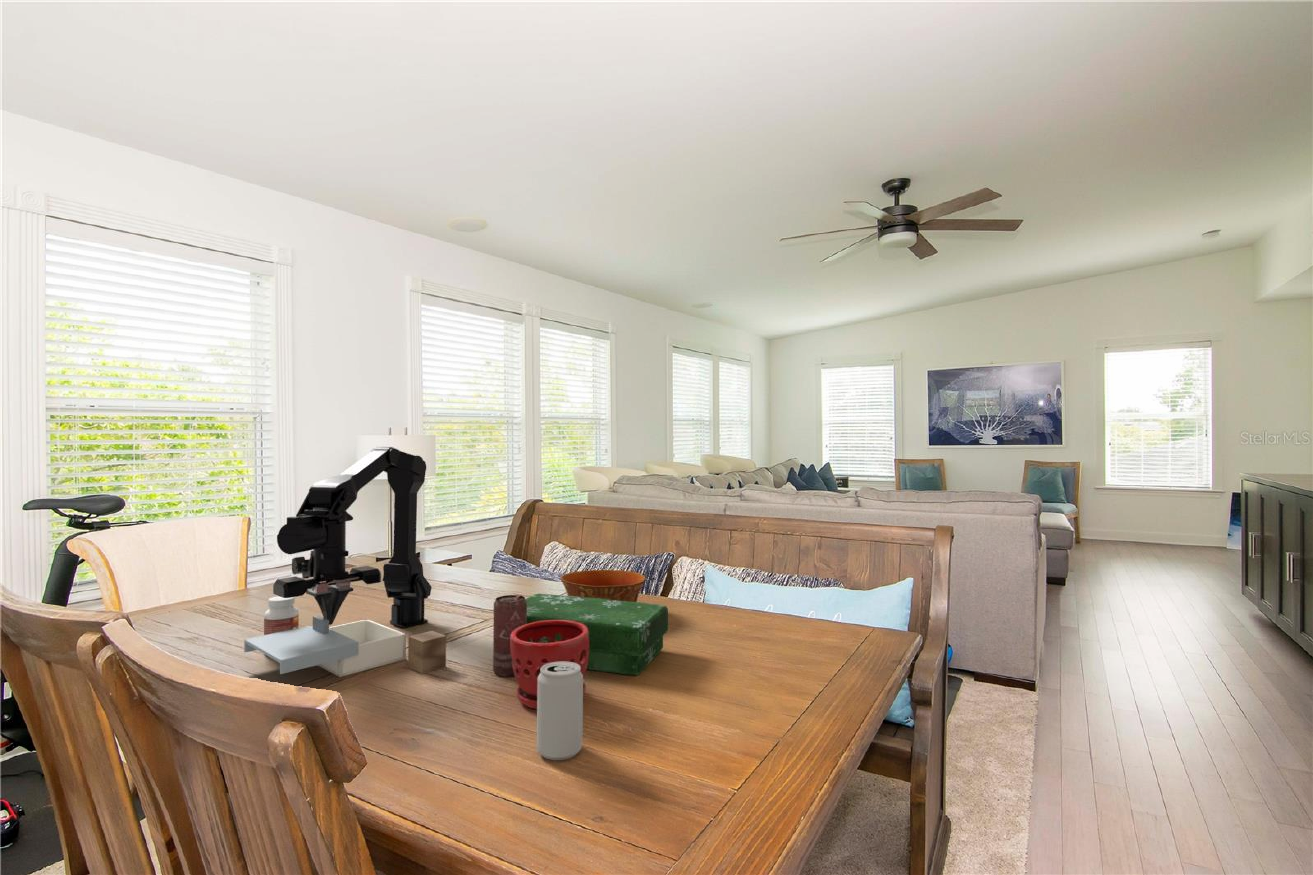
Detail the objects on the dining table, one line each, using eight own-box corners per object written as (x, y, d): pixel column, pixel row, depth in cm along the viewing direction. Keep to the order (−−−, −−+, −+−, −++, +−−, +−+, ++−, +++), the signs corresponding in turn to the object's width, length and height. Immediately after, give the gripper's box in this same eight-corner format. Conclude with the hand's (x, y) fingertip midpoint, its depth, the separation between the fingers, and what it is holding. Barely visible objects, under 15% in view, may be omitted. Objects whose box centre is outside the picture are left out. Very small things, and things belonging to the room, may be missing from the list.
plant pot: (520, 685, 118) (520, 618, 118) (593, 686, 117) (593, 619, 117) (500, 716, 105) (501, 640, 105) (582, 717, 104) (583, 642, 104)
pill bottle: (299, 653, 134) (300, 599, 134) (264, 659, 130) (265, 603, 130) (296, 645, 139) (297, 593, 139) (262, 650, 135) (263, 596, 135)
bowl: (598, 601, 178) (598, 564, 178) (662, 614, 166) (662, 574, 166) (542, 618, 161) (542, 577, 161) (608, 634, 149) (609, 590, 149)
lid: (318, 635, 134) (318, 611, 134) (358, 654, 123) (358, 628, 123) (244, 652, 124) (244, 626, 124) (280, 674, 113) (281, 645, 113)
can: (532, 667, 126) (533, 595, 126) (515, 679, 120) (515, 603, 120) (505, 664, 128) (505, 592, 128) (486, 675, 122) (487, 600, 122)
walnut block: (431, 661, 130) (431, 630, 130) (445, 666, 127) (446, 635, 127) (408, 667, 126) (408, 636, 126) (422, 673, 123) (422, 641, 123)
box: (669, 651, 138) (670, 603, 138) (640, 681, 121) (640, 627, 121) (536, 635, 148) (536, 591, 148) (491, 661, 131) (491, 611, 131)
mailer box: (367, 642, 141) (367, 619, 141) (405, 659, 131) (405, 634, 131) (303, 657, 131) (303, 632, 131) (339, 677, 121) (339, 650, 121)
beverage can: (538, 742, 96) (539, 660, 96) (583, 740, 96) (583, 659, 96) (534, 764, 90) (535, 675, 90) (581, 762, 90) (582, 674, 90)
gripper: (357, 536, 143) (356, 608, 143) (262, 547, 129) (262, 626, 129) (382, 542, 136) (382, 617, 136) (285, 553, 121) (284, 638, 121)
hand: (329, 624), depth 131 cm, fingers closed
